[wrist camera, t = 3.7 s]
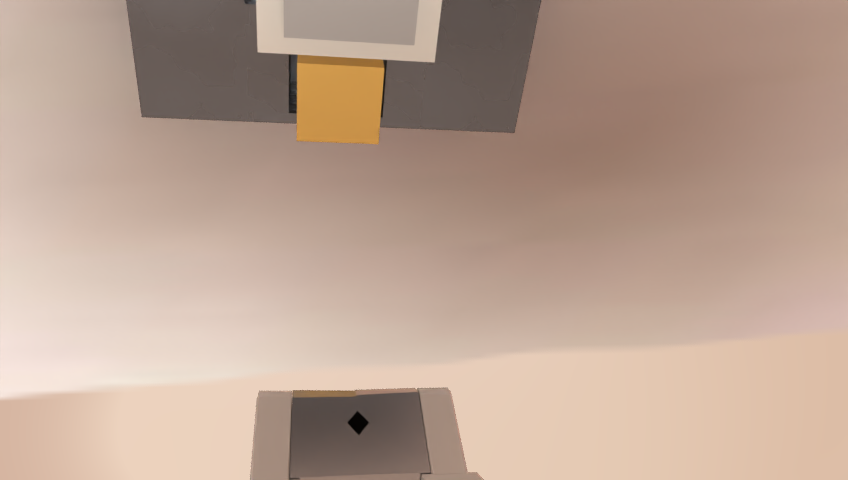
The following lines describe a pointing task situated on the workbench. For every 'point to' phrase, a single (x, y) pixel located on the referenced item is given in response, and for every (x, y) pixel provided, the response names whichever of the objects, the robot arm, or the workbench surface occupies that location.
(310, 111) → the plate
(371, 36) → the plug
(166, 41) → the panel
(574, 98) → the workbench surface
